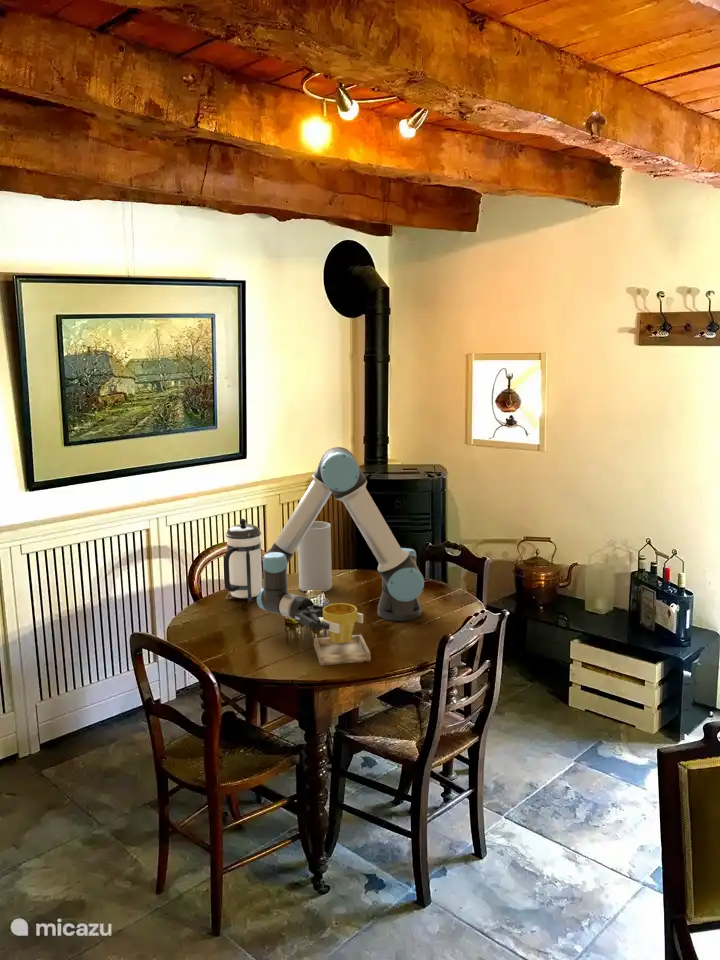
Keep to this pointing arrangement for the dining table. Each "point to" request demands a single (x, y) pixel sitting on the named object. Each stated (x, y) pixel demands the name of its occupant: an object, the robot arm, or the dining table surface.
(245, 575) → the coffee press
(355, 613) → the plant pot
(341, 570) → the dining table surface
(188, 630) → the dining table surface
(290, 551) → the robot arm
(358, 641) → the birch tray
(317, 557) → the cylinder vase
